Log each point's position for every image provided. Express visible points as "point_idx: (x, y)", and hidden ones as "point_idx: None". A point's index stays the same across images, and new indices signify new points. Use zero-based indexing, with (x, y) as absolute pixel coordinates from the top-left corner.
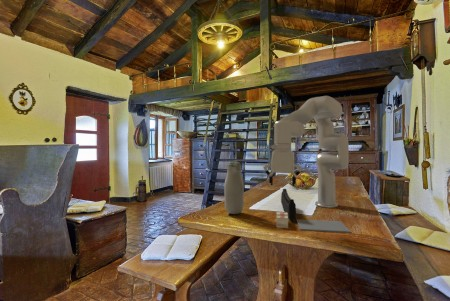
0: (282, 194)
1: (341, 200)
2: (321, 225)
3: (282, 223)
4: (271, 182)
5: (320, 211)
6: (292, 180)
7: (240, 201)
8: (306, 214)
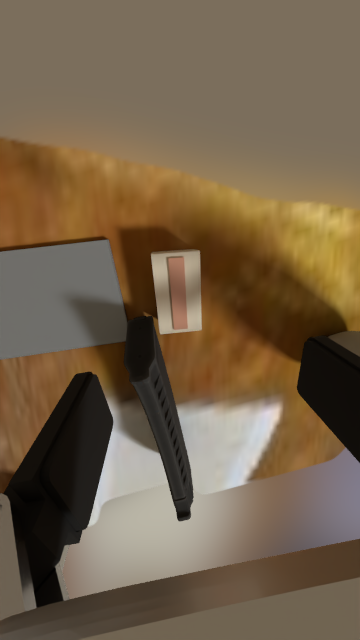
0: (189, 486)
1: None
2: (36, 299)
3: (173, 251)
4: (342, 349)
5: None
6: (87, 446)
7: None
8: None
